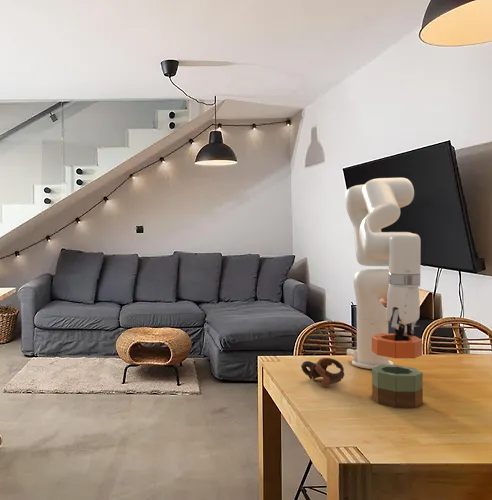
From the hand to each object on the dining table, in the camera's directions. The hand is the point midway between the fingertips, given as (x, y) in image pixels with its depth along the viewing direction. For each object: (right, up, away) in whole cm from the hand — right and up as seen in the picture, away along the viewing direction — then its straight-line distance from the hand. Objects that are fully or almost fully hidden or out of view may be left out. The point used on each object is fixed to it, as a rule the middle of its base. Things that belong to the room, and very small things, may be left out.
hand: (404, 348), depth 141 cm
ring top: (-3, -1, -3) cm, 5 cm away
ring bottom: (-3, -13, -3) cm, 14 cm away
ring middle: (-3, -9, -3) cm, 10 cm away
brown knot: (-17, -13, +14) cm, 26 cm away
